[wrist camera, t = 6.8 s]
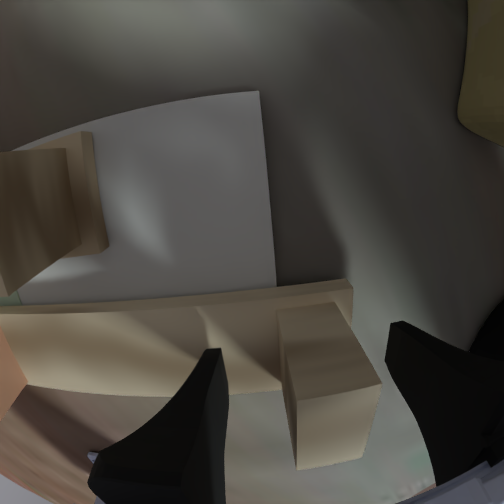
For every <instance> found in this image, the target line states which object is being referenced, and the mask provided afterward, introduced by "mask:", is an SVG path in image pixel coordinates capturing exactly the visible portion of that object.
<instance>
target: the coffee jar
mask: <svg viewBox="0 0 504 504" xmlns="http://www.w3.org/2000/svg"><path fill="white" fill-rule="evenodd" d="M470 353H473V354H476V355H479V356H482V357H486V358H490V359H494V360H499V361H504V300H503V301H502V302H501V303H500V304H499V305H498V306H497V308H496V309H495V310H494V311H493V312H492V313H491V315H490V316H489V318H488V319H487V321H486V322H485V324H484V325H483V327H482V328H481V330H480V331H479V333H478V335H477V337H476V339H475V341H474V343H473V345H472V347H471V349H470Z"/></svg>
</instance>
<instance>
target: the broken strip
mask: <svg viewBox="0 0 504 504" xmlns="http://www.w3.org/2000/svg"><path fill="white" fill-rule="evenodd" d="M108 247H109V241H108V236H107V232H106V227H105V222H104V216H103V211H102V206H101V200H100V194H99V187H98V181H97V174H96V166H95V159H94V150H93V140H92V132H86V131H79V132H76V133H73V134H70V135H67V136H64V137H61V138H58V139H55V140H52V141H49V142H46V143H44V144H41V145H38V146H36V147H33V148H31V149H28V150H19V151H7V152H0V297H9V296H10V295H11V294H12V293H14V292H15V291H16V290H18V289H19V288H20V287H22V286H23V285H24V284H26V283H27V282H28V281H30V280H31V279H32V278H34V277H35V276H36V275H38V274H39V273H40V272H42V271H43V270H45V269H46V268H47V267H49V266H50V265H52V264H53V263H55V262H56V261H57V260H59V259H62V258H70V257H77V256H85V255H93V254H100V253H102V252H103V251H104V250H105V249H107V248H108Z"/></svg>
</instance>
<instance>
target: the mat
mask: <svg viewBox="0 0 504 504" xmlns="http://www.w3.org/2000/svg"><path fill="white" fill-rule="evenodd" d="M79 131H86V132H92V140H93V150H94V159H95V166H96V174H97V181H98V187H99V194H100V200H101V206H102V211H103V216H104V222H105V227H106V232H107V236H108V241H109V247H108V248H107V249H105V250H104V251H103V252H102V253H100V254H93V255H85V256H77V257H70V258H62V259H59V260H57V261H56V262H55V263H53V264H52V265H50V266H49V267H47V268H46V269H45V270H43V271H42V272H40V273H39V274H38V275H36V276H35V277H34V278H32V279H31V280H30V281H28V282H27V283H26V284H24V285H23V286H22V287H20V288H19V289H18V290H16V291H15V292H14V293H12V294H11V295H10V296H9V297H0V306H27V305H56V304H78V303H97V302H114V301H130V300H144V299H157V298H170V297H182V296H193V295H205V294H215V293H226V292H236V291H245V290H255V289H264V288H273V287H277V282H276V269H275V256H274V244H273V231H272V220H271V208H270V197H269V186H268V175H267V165H266V154H265V144H264V134H263V125H262V115H261V106H260V96H259V91H248V92H237V93H228V94H219V95H212V96H204V97H198V98H191V99H185V100H179V101H174V102H168V103H163V104H158V105H153V106H148V107H144V108H140V109H135V110H131V111H127V112H123V113H119V114H115V115H111V116H108V117H104V118H101V119H97V120H94V121H90V122H87V123H84V124H81V125H78V126H74V127H71V128H68V129H66V130H63V131H60V132H57V133H54V134H51V135H49V136H46V137H43V138H41V139H38V140H36V141H33V142H31V143H28V144H26V145H23V146H21V147H19V148H16V149H14V150H12V151H19V150H28V149H31V148H33V147H36V146H38V145H41V144H44V143H46V142H49V141H52V140H55V139H58V138H61V137H64V136H67V135H70V134H73V133H76V132H79Z"/></svg>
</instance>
